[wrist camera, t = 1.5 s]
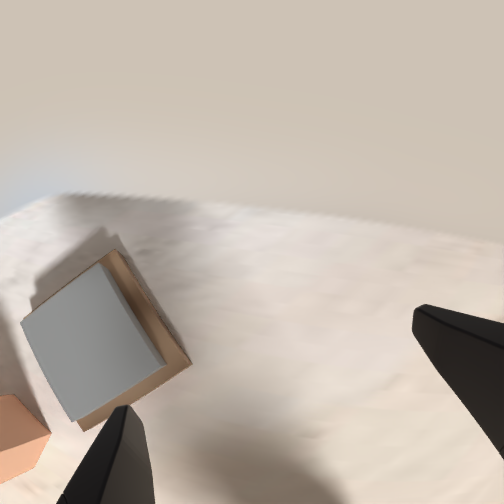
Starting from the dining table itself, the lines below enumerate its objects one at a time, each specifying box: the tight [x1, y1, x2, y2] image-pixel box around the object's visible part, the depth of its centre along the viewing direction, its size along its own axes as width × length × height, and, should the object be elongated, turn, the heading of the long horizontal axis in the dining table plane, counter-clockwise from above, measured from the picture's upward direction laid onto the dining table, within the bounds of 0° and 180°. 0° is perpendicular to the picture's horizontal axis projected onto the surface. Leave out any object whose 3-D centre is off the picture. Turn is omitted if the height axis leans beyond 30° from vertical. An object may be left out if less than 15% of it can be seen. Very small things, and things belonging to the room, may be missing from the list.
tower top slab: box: [20, 262, 167, 422], centre depth 19 cm, size 8×8×2 cm
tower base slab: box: [23, 249, 192, 432], centre depth 21 cm, size 10×10×2 cm
